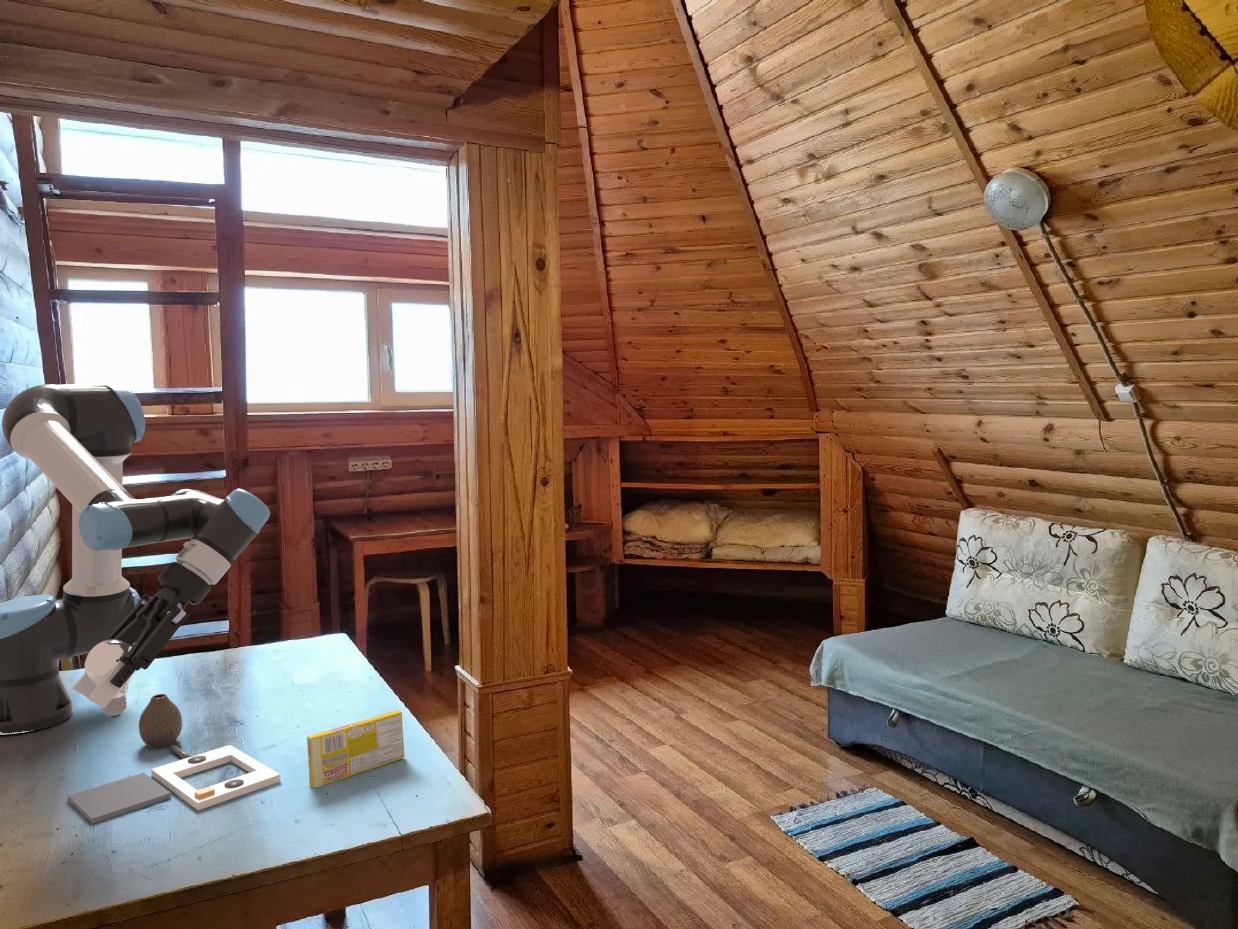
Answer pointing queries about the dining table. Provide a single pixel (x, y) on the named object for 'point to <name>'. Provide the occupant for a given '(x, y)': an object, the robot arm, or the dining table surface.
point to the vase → (160, 722)
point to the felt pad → (118, 797)
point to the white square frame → (218, 792)
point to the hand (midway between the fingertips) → (87, 698)
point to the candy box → (355, 748)
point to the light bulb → (108, 670)
